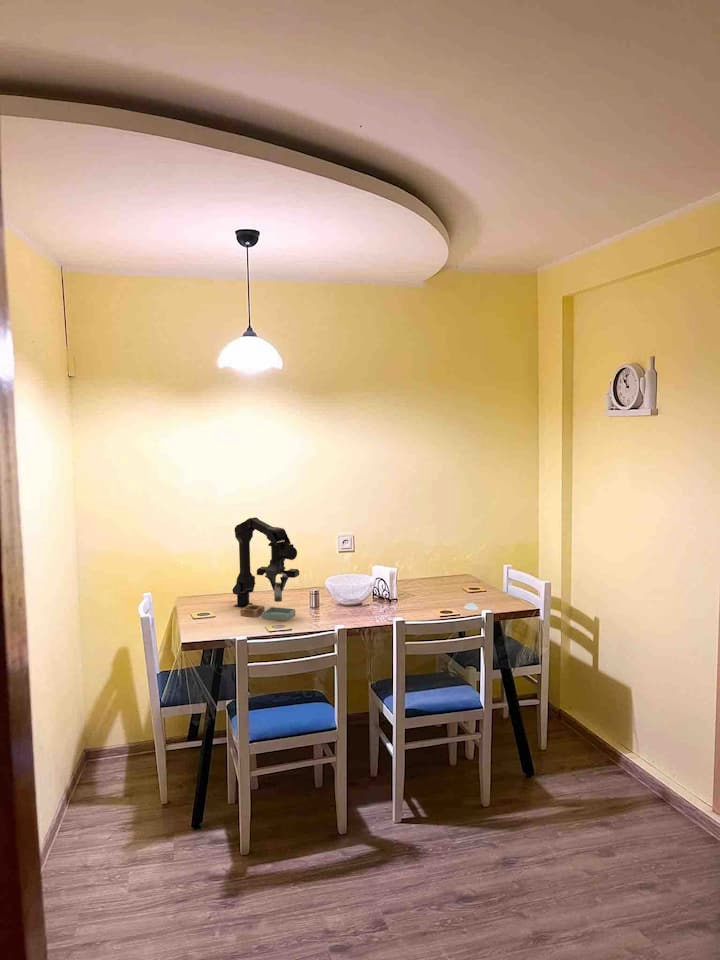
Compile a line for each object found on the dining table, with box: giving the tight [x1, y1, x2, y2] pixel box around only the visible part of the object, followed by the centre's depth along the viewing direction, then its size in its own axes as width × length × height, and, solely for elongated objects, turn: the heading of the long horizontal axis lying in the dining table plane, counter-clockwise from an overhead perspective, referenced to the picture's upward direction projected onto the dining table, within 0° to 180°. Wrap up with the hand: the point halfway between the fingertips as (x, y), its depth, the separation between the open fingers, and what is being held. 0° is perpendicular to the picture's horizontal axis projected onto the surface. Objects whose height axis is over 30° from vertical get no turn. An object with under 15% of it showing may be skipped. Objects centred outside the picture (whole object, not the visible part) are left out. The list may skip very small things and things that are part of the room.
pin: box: [273, 581, 283, 603], centre depth 296 cm, size 3×3×8 cm
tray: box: [261, 606, 296, 622], centre depth 297 cm, size 10×12×3 cm
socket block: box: [240, 604, 266, 618], centre depth 301 cm, size 8×8×3 cm
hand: (278, 590), depth 296 cm, fingers closed on pin, 3 cm apart
